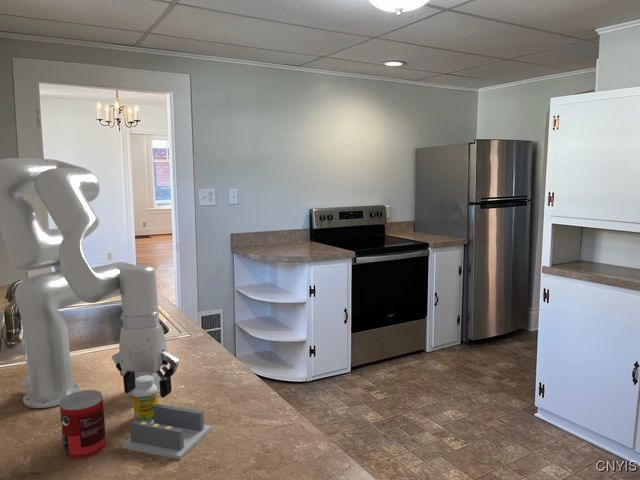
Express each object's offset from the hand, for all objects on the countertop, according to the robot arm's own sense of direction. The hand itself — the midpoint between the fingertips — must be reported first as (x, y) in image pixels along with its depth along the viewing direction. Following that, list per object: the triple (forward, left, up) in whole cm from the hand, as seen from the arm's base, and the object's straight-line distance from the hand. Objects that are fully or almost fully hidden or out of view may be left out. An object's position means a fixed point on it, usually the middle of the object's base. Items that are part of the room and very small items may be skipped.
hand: (148, 392), depth 111 cm
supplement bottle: (-1, 0, -7) cm, 7 cm away
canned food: (-5, -14, -7) cm, 16 cm away
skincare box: (-9, +11, -7) cm, 16 cm away
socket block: (+9, -6, -6) cm, 13 cm away
